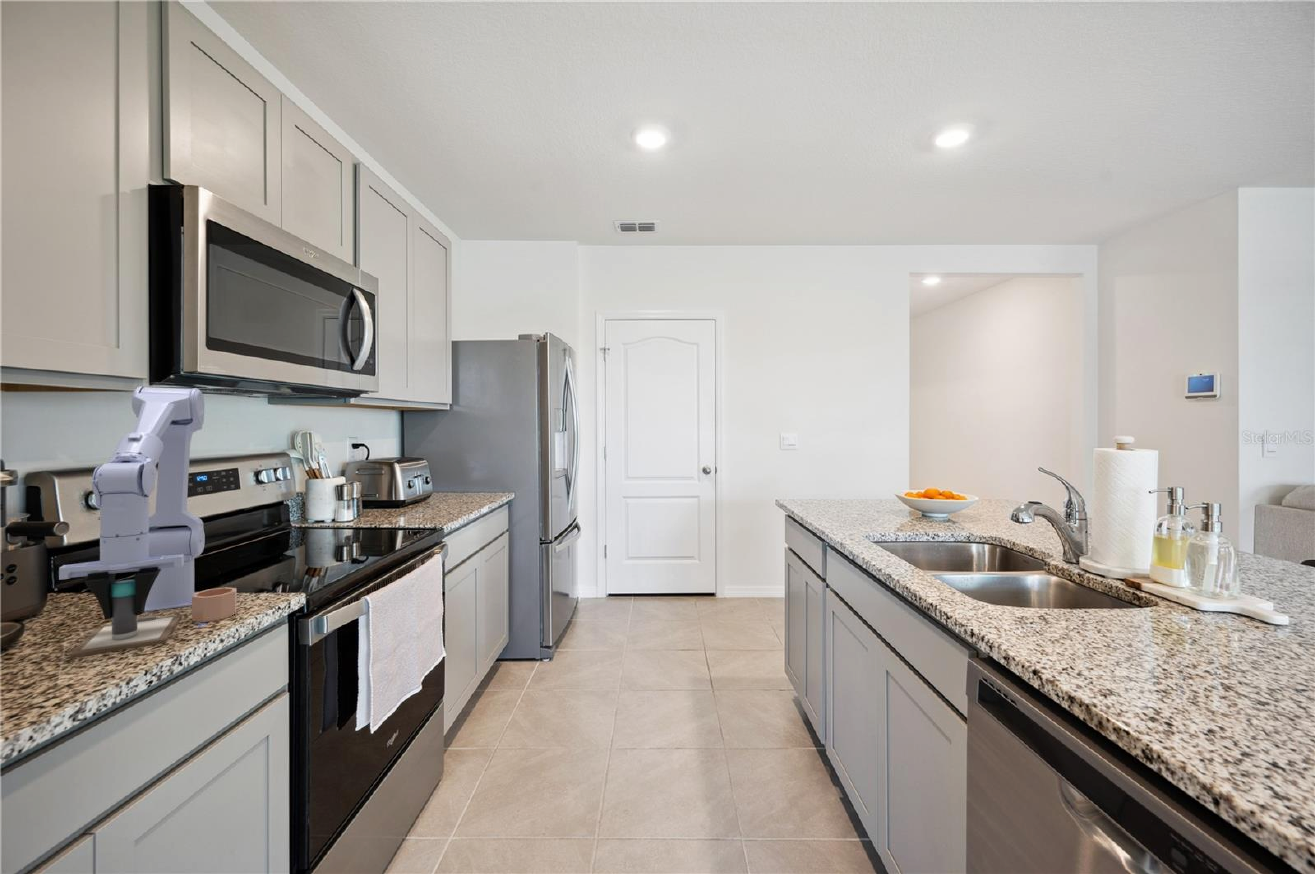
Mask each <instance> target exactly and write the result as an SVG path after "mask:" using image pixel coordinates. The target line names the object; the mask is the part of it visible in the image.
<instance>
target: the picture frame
mask: <svg viewBox="0 0 1315 874" xmlns="http://www.w3.org/2000/svg"><path fill="white" fill-rule="evenodd" d="M182 617H183V614H178V615H169V616H163V617H157V615H150V616H149V615H148V616H142V617H137V635H135V636H133V637H129V638H125V639H118V640H114V639H112V624H105V625H99V626H97V627H96V628H95V629H94V630H93V631H92V632H91V633H90V634H89V635H88V636H87V637H86V638H85V639H84V640H82V642H80V643H79V644H78V645H77V646H76V647H75V648H74V649H73V650H71V652H69V654H68V659H72V658H80V657H85V656H93V655H97V654H103V653H110V652H116V651H123V650H129V649H135V648H141V647H142V648H143V647H147V646H153V645H154V646H155V645H160V644H165V643H167V641H168V639H169V638H170V636H171V635H172V634H171V633H174V631H175V629H176V627H177V626H178V625H179V623H180V622H181V620H182Z"/></svg>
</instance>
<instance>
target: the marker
mask: <svg viewBox="0 0 1315 874" xmlns="http://www.w3.org/2000/svg"><path fill="white" fill-rule="evenodd" d="M111 597H112V618H111V625H112V639H114V640H118V639H125V638H129V637H133V636H135V635H137V618H138V615H136V614H135V606H136V586H135V579H125V580H119V581H115V582H114V583H112V584H111Z"/></svg>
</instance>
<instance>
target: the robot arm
mask: <svg viewBox="0 0 1315 874" xmlns="http://www.w3.org/2000/svg"><path fill="white" fill-rule="evenodd" d="M131 406H132V407H131V409H132V411H133V413H134V414H135V417H136V418H137V420H136V422H135V426H134V429H133V431H132V432H129V433H125V434H124V435H123V436H122V437H121V438H120V440H119V442H118V444H117V445H116V447H115V449H114V451H113V453H112V455H111V457H110V459H109V460H108V462H105V463H102V465H99V466H96V468H95V469H94V470H93V473H92V480H91V488H92V492H93V495H94V498H95V506H96V509H99V552H100V553H99V560H96V561H95V560H94V561H88V562H87V561H86V562H79V563H73V564H72V563H71V564H63V565H61V566H60V567H59V569H58V580H60V581H61V580H68V579H71V578H79V577H81V578H82V577H87V578H86V580H85V581H84V582H85V585H86V587H87V588H88V589H89V591H91V593H92V594H93V596H94V597H95V598H96V600H97V602H98V603H99V605H100V608H101V611H102V613H103V617H104V620H105V621H106V620H112V597H111V584H112V583H114V582H116V574H118V573H119V574H121V573H131V572H137V573H136V574H134V577H133V578H134V580H135V586H136V606H135V614H136V615H137V616H140V615H143V614H144V613H146V612H147V613H148V612H154V611H155V610H156V611H163V610H169V609H177V608H185V607H192V596H193V595H194V593H197V592H198V591H195V558H197V557H199V556H200V555H201V554H202V553H203V552H204V548H205V541H206V540H205V539H206V538H205V537H206V536H205V535H206V534H205V531H204V522H203V520H202V519H201V518H200V517H198V515H197V516H196V515H195V514H192V513H190V512H189V511H187V508H188V493H189V491H188V489H189V473H190V453H191V452H190V451H191V442H192V438H193V433H196V432H198V431H201V430H202V429H203V425H204V420H205V399H204V395H203V392H202V391H201V390H200V389H199V388H197V387H195V388H174V387H171V388H170V387H146V386H141V385H140V386H138V387H137V388H135V389H134V390H133V392H132V395H131ZM157 464H158V465H157ZM156 466H157V468H156ZM156 477H157V479H156ZM156 480H157V482H156ZM155 486H156V487H155ZM155 488H156V494H155V495H156V496H155V508H154V509H155V512H154V513H153V514H151V515H150V511H149V510H150V504H149V503H150V502H149V501H150V496H151V495H152V494H153V492H154V490H155ZM149 515H150V516H149ZM176 526H177V527H176ZM179 526H187V527H179ZM162 527H173V528H162ZM157 528H158V529H157Z"/></svg>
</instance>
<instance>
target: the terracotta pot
mask: <svg viewBox="0 0 1315 874" xmlns="http://www.w3.org/2000/svg"><path fill="white" fill-rule="evenodd" d="M196 592H197V593H194V595H193V596H192V606H191V621H192V622H197V623H207V622H213V621H221V620H220V619H222V620H224V619H227V618H230V617H233V616H235V615H236V614H237V609H238V607H237V598H238V597H237V595H238V594H237V587H227V586H224V587H219V588H218V587H216V588H210V589H205V590H202V591H201V590H200V591H196ZM234 614H235V615H234ZM232 615H233V616H232Z"/></svg>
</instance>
